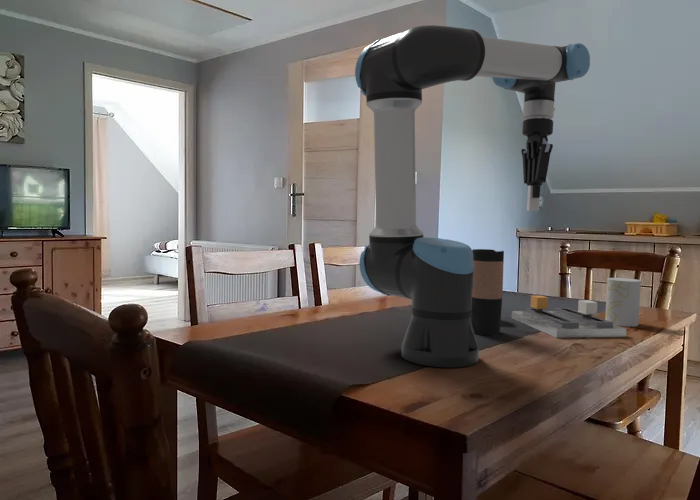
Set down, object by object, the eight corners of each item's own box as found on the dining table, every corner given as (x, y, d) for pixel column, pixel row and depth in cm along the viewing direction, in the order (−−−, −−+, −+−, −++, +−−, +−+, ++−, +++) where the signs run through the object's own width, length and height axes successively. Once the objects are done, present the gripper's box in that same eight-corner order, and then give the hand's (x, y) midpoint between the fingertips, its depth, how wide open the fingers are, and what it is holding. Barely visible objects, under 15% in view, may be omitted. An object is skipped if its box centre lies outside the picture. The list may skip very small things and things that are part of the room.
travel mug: (468, 334, 134) (471, 250, 133) (469, 327, 141) (472, 248, 140) (501, 336, 132) (504, 251, 131) (500, 330, 140) (503, 249, 138)
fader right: (585, 321, 141) (586, 302, 141) (577, 318, 145) (578, 300, 145) (596, 321, 142) (597, 302, 142) (588, 318, 146) (589, 300, 145)
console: (556, 337, 132) (557, 324, 132) (511, 318, 156) (512, 306, 156) (625, 336, 135) (626, 323, 135) (571, 317, 159) (571, 306, 159)
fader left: (536, 315, 148) (537, 297, 148) (530, 313, 152) (531, 295, 151) (547, 315, 149) (548, 297, 148) (540, 313, 152) (541, 295, 152)
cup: (598, 321, 155) (600, 277, 154) (622, 320, 158) (624, 277, 157) (620, 327, 147) (623, 281, 147) (645, 325, 150) (647, 281, 149)
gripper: (564, 116, 139) (558, 211, 141) (539, 124, 152) (534, 211, 154) (536, 114, 138) (530, 210, 140) (513, 122, 151) (508, 210, 153)
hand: (532, 210), depth 147 cm, fingers closed
